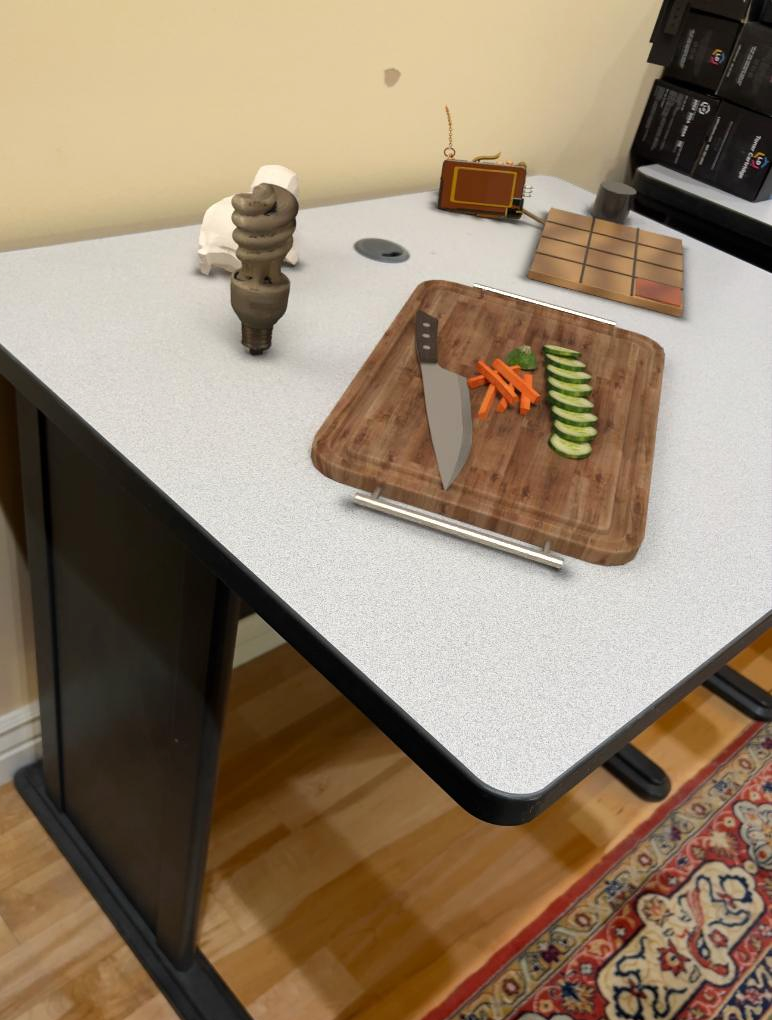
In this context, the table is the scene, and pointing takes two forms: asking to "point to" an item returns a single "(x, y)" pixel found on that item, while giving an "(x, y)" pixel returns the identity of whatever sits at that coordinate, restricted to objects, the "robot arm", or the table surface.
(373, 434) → the chopping board
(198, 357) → the table surface
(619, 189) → the dark grey short cylinder
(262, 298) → the light bulb
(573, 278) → the game board
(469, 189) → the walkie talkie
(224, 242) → the white lumpy sculpture
